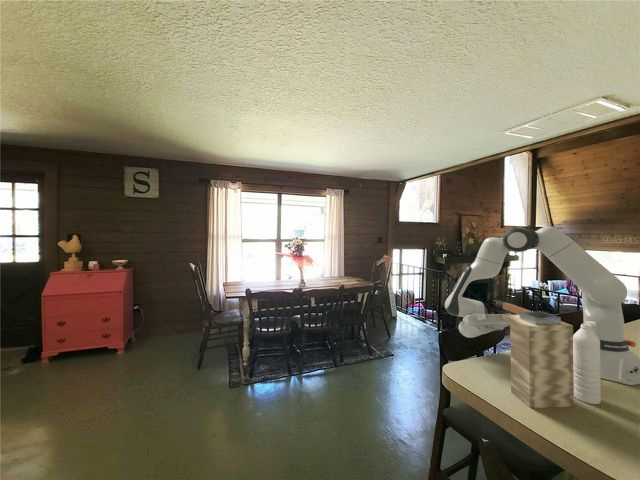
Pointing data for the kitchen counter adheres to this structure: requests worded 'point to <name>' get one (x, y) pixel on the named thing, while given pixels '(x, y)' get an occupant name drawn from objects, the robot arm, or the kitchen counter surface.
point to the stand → (541, 363)
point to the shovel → (533, 315)
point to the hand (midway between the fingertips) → (498, 315)
